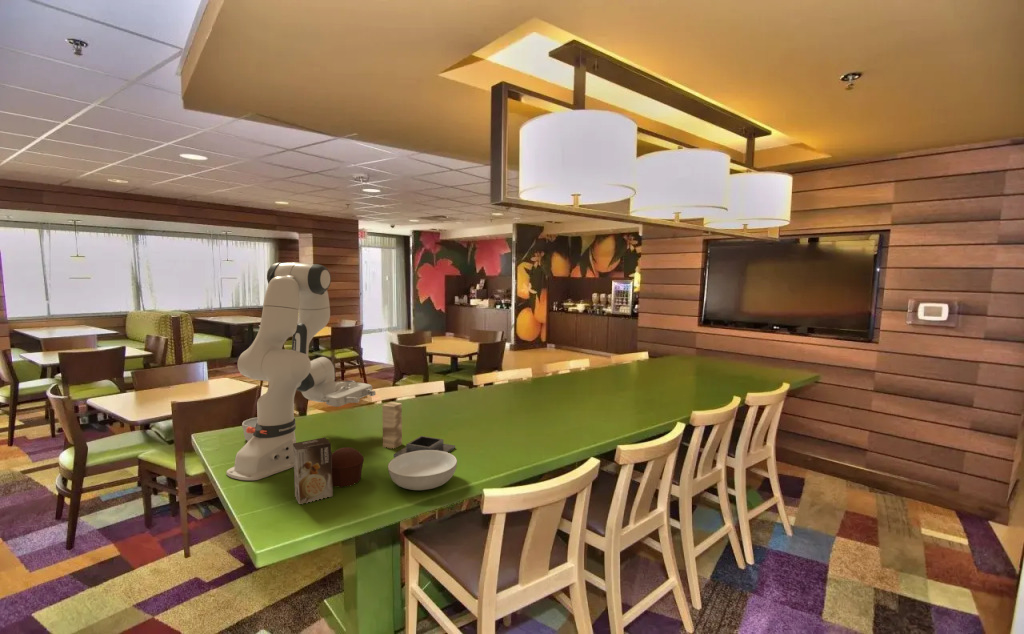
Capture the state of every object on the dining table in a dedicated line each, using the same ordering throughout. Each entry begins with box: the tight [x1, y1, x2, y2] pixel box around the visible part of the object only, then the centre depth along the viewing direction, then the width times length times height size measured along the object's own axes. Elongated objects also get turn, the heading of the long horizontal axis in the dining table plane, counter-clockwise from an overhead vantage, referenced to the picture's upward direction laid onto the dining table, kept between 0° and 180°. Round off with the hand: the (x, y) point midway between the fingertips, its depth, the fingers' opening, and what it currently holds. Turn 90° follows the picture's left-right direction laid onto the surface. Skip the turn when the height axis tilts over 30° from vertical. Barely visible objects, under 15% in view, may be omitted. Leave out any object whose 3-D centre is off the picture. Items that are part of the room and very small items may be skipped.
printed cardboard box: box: [293, 437, 334, 505], centre depth 132 cm, size 9×6×16 cm
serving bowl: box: [387, 450, 458, 491], centre depth 142 cm, size 21×21×7 cm
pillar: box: [381, 401, 403, 449], centre depth 173 cm, size 5×5×16 cm
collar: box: [393, 435, 456, 458], centre depth 168 cm, size 16×16×4 cm
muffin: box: [331, 446, 365, 488], centre depth 143 cm, size 12×11×10 cm
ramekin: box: [241, 417, 258, 442], centre depth 181 cm, size 13×13×7 cm
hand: (366, 396), depth 178 cm, fingers open, 8 cm apart
